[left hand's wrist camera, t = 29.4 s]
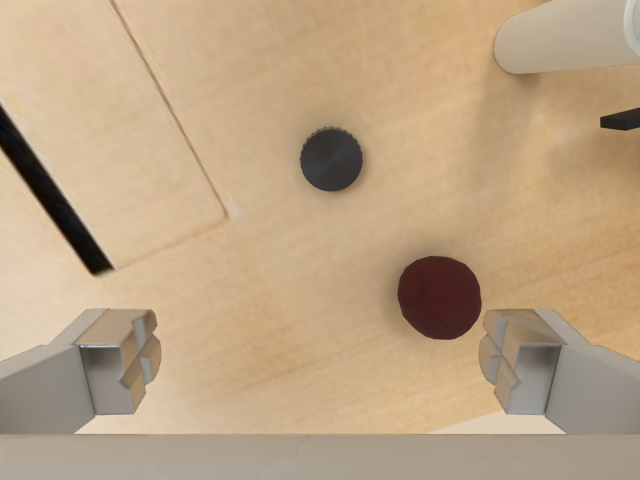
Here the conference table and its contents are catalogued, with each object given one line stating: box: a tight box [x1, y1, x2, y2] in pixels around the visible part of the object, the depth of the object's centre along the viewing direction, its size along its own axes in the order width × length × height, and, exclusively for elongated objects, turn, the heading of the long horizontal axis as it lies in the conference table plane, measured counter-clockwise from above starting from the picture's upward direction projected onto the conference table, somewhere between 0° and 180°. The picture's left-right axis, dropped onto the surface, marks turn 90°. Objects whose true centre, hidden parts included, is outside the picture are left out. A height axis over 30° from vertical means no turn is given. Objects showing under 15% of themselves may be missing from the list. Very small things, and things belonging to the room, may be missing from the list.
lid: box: [300, 126, 363, 191], centre depth 36 cm, size 5×5×2 cm
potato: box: [398, 256, 482, 340], centre depth 37 cm, size 7×8×7 cm
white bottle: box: [494, 0, 640, 74], centre depth 25 cm, size 5×5×17 cm
